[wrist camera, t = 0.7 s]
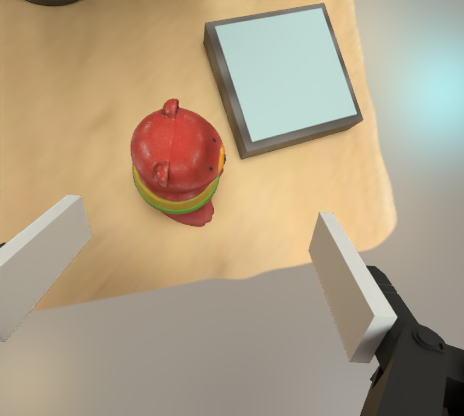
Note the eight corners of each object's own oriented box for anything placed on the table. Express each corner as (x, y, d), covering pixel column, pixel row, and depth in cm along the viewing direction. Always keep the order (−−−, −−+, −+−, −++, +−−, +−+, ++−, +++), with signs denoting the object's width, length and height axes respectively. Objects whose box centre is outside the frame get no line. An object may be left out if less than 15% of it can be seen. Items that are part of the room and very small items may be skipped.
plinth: (203, 42, 37) (205, 20, 33) (312, 22, 41) (325, 0, 37) (241, 159, 37) (247, 151, 33) (347, 129, 40) (365, 118, 36)
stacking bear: (209, 229, 35) (230, 230, 18) (135, 213, 34) (77, 197, 16) (226, 155, 36) (260, 88, 19) (154, 136, 35) (121, 45, 18)
